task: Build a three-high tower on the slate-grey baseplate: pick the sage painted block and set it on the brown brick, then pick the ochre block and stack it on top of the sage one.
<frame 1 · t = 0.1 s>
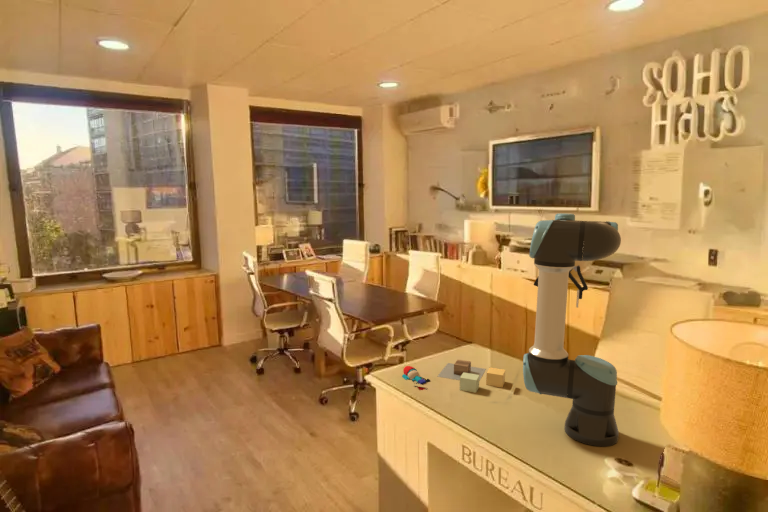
hand: (558, 305, 193), 28 cm above the counter, fingers open, 13 cm apart
ochre brick: (495, 386, 181), on the counter
brown brick: (462, 372, 191), resting on baseplate
baseplate: (462, 375, 191), on the counter
toy figure: (415, 383, 184), on the counter
sage brick: (469, 391, 176), on the counter
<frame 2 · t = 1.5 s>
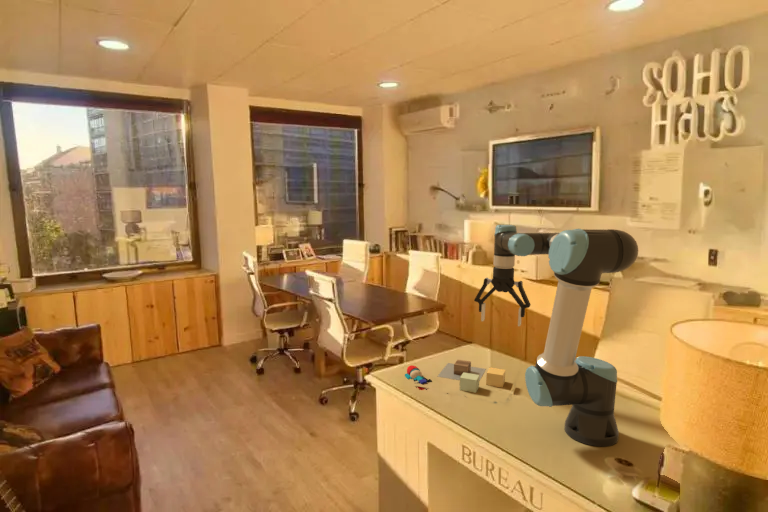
hand: (500, 322, 179), 24 cm above the counter, fingers open, 13 cm apart
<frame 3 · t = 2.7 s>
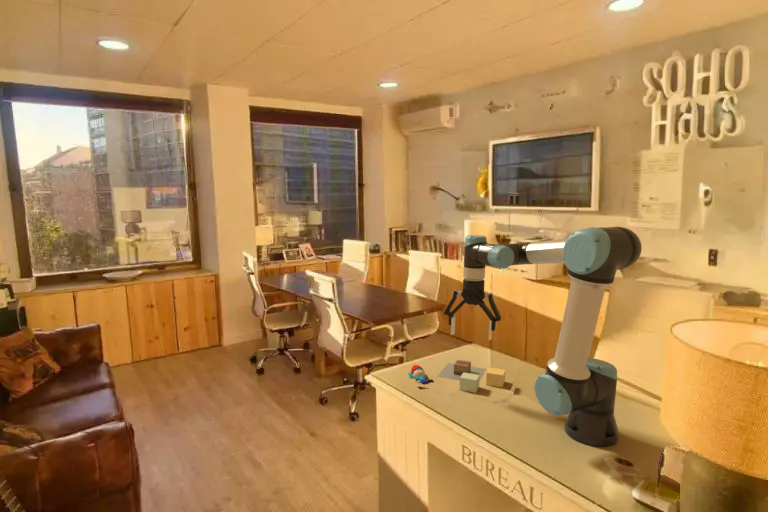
hand: (471, 336, 173), 21 cm above the counter, fingers open, 13 cm apart
toy figure: (420, 382, 185), on the counter
everything else where it was.
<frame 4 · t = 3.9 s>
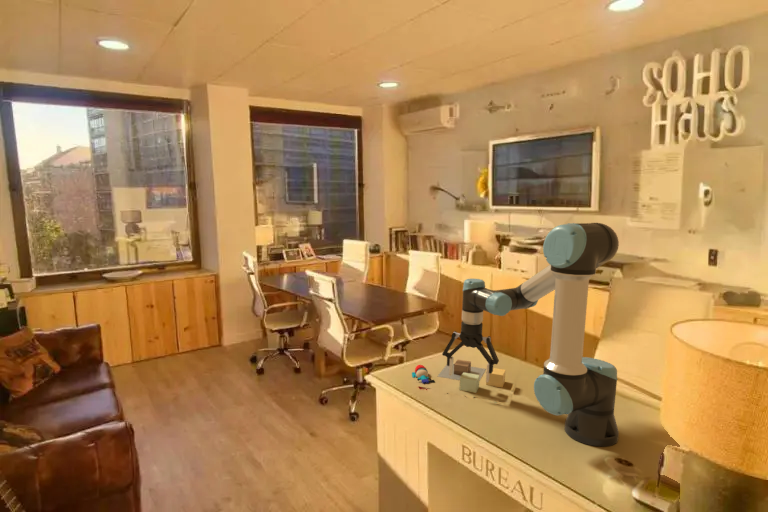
hand: (469, 377, 176), 5 cm above the counter, fingers open, 13 cm apart
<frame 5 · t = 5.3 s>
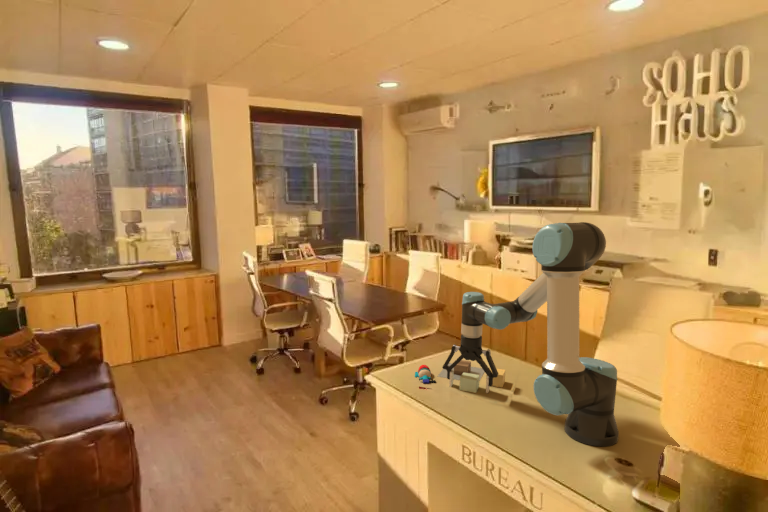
hand: (469, 391, 176), 0 cm above the counter, fingers open, 13 cm apart
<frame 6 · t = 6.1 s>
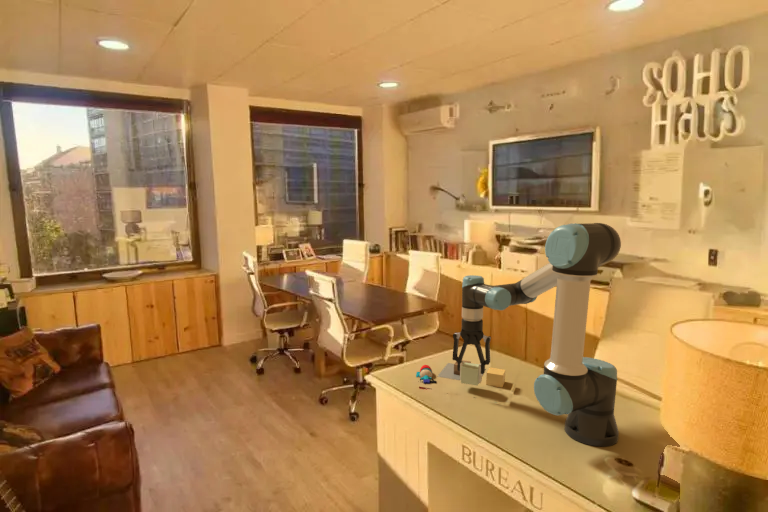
hand: (470, 380, 175), 4 cm above the counter, fingers closed on sage brick, 6 cm apart
sage brick: (470, 381, 175), point 4 cm above the counter, touching gripper
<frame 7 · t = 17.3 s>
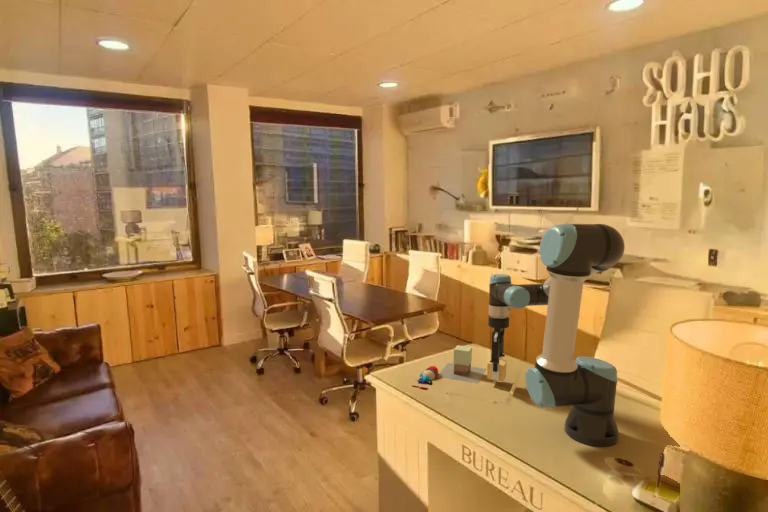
hand: (496, 376, 180), 4 cm above the counter, fingers closed on ochre brick, 6 cm apart
ochre brick: (496, 377, 180), point 4 cm above the counter, touching gripper
sage brick: (462, 362, 191), point 5 cm above the counter, touching brown brick
when the fingers open (11 cm above the counter, at t = 21.9 s): ochre brick stays where it is, resting on sage brick.
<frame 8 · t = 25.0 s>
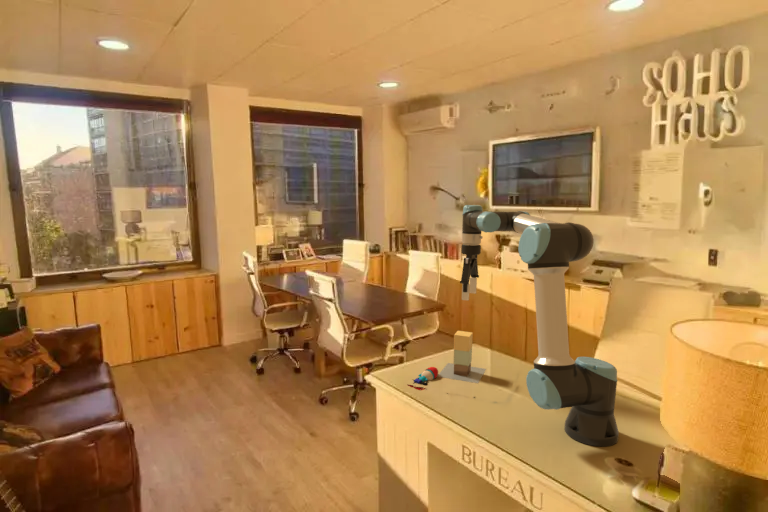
hand: (469, 296, 193), 31 cm above the counter, fingers open, 13 cm apart
ochre brick: (462, 348, 190), point 11 cm above the counter, touching sage brick
toy figure: (424, 383, 184), on the counter
sage brick: (462, 362, 191), point 5 cm above the counter, touching brown brick, ochre brick
at the end: sage brick 0.1 cm off-centre on the baseplate, point 5.2 cm above the baseplate's base; ochre brick 0.1 cm off-centre on the baseplate, point 11.2 cm above the baseplate's base; ochre brick tilted 0° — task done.
